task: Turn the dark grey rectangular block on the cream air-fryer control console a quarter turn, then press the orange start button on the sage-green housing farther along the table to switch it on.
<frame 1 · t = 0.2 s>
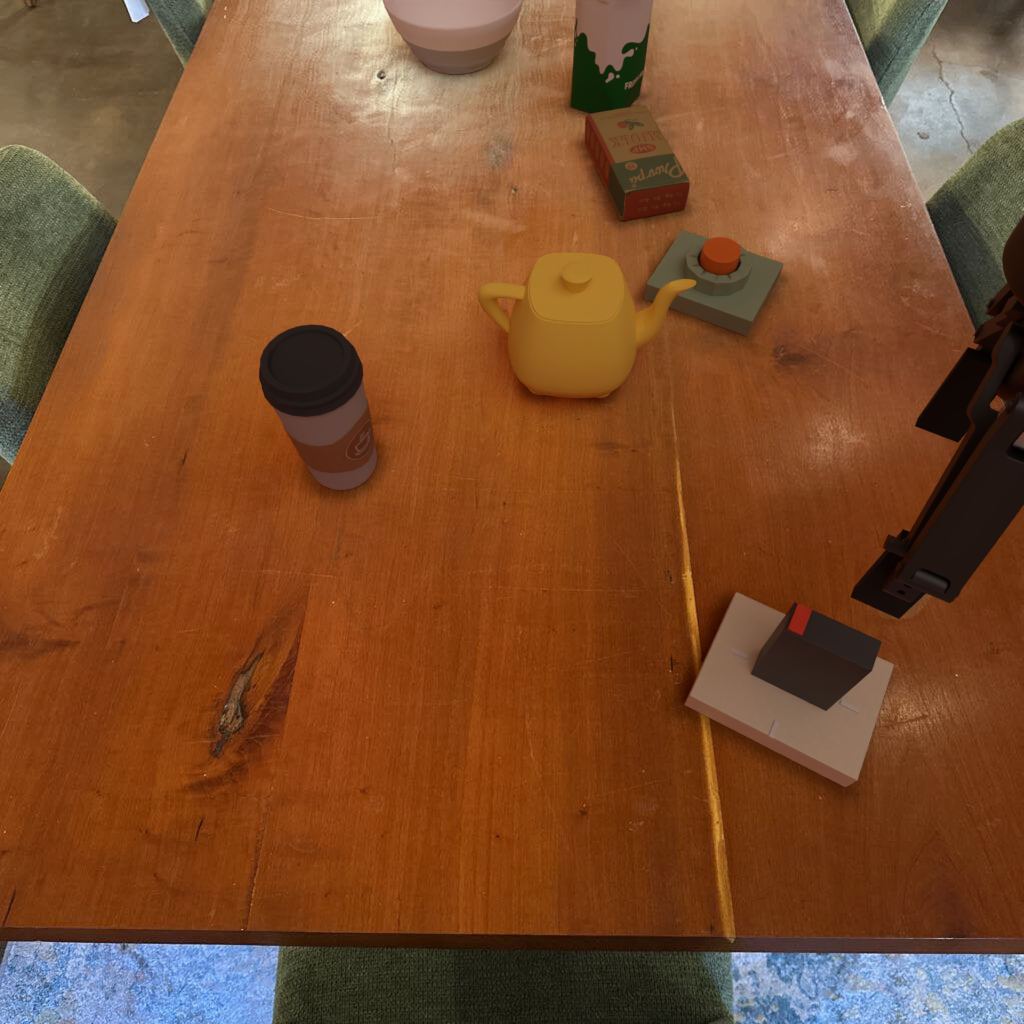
hand: (908, 511, 45), 21 cm above the table, tool pointing down, fingers open, 13 cm apart
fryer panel: (783, 689, 61), on the table
dark grey rectangular block: (811, 658, 55), point 7 cm above the table, hinge at 0.0°
carton: (632, 178, 95), on the table
bowl: (458, 55, 111), on the table
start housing: (711, 288, 85), on the table
coffee cup: (345, 466, 74), on the table
start button: (720, 256, 81), point 5 cm above the table, slide at 0.2 cm
teapot: (578, 366, 79), on the table
milk carton: (605, 103, 104), on the table
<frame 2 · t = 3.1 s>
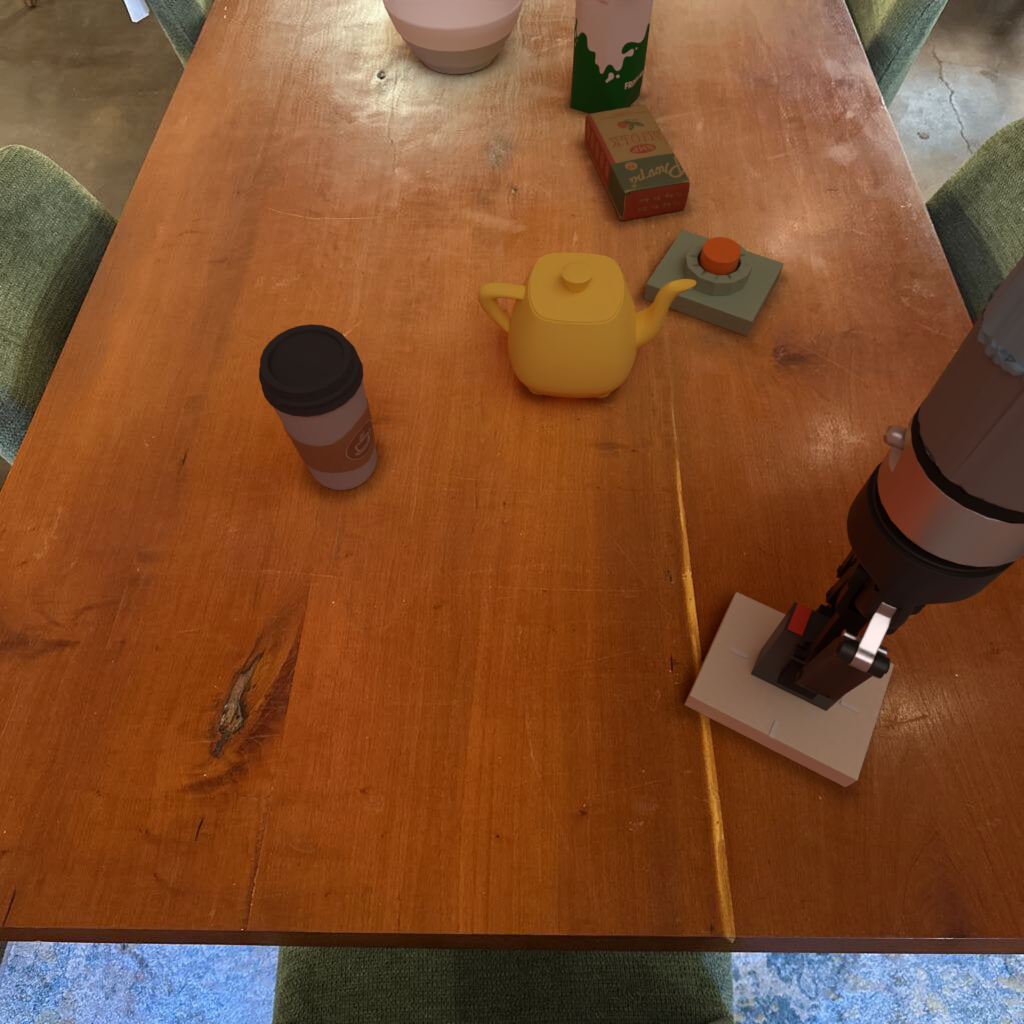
hand: (802, 668, 57), 5 cm above the table, tool pointing down, fingers closed on dark grey rectangular block, 2 cm apart
dark grey rectangular block: (811, 658, 55), point 7 cm above the table, hinge at 0.0°, touching gripper
everything else where it was.
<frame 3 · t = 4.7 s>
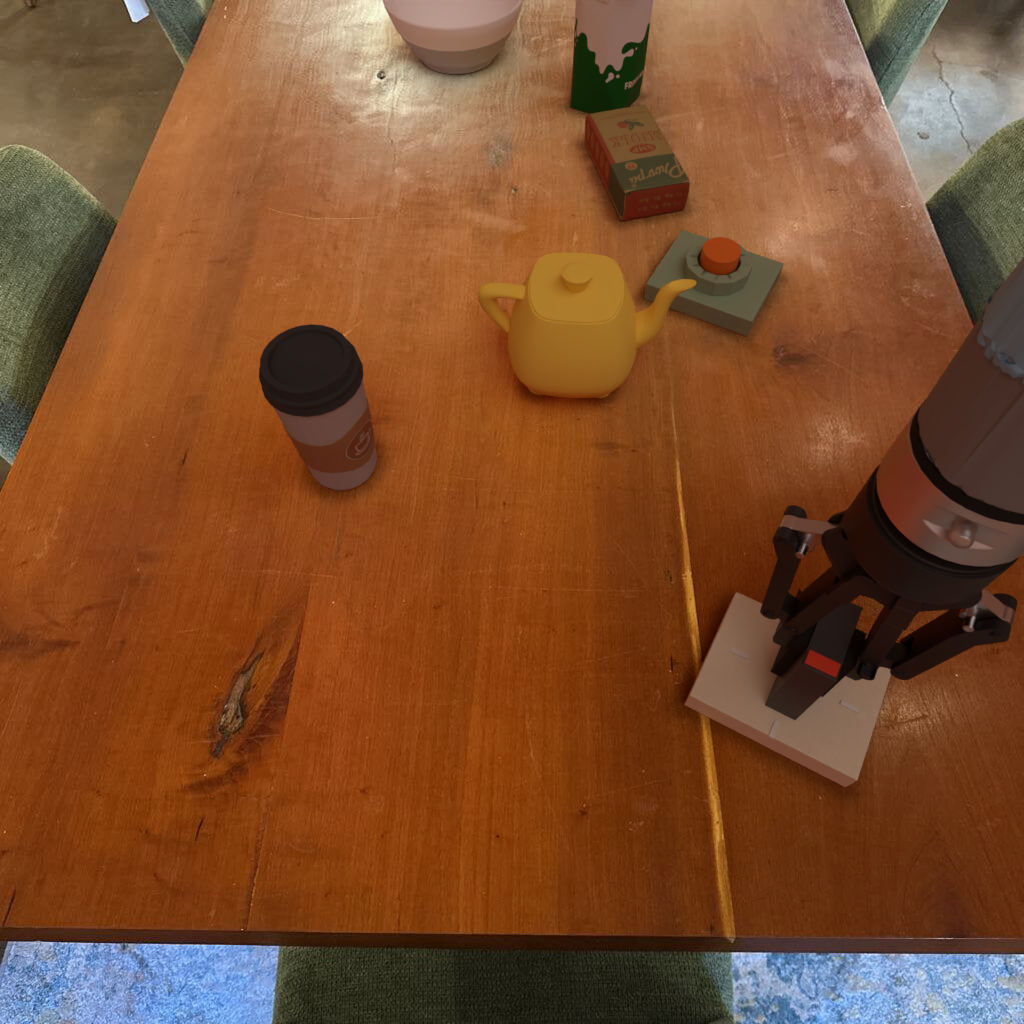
hand: (802, 668, 57), 5 cm above the table, tool pointing down, fingers open, 2 cm apart
dark grey rectangular block: (811, 658, 55), point 7 cm above the table, hinge at 89.9°
everything else where it was.
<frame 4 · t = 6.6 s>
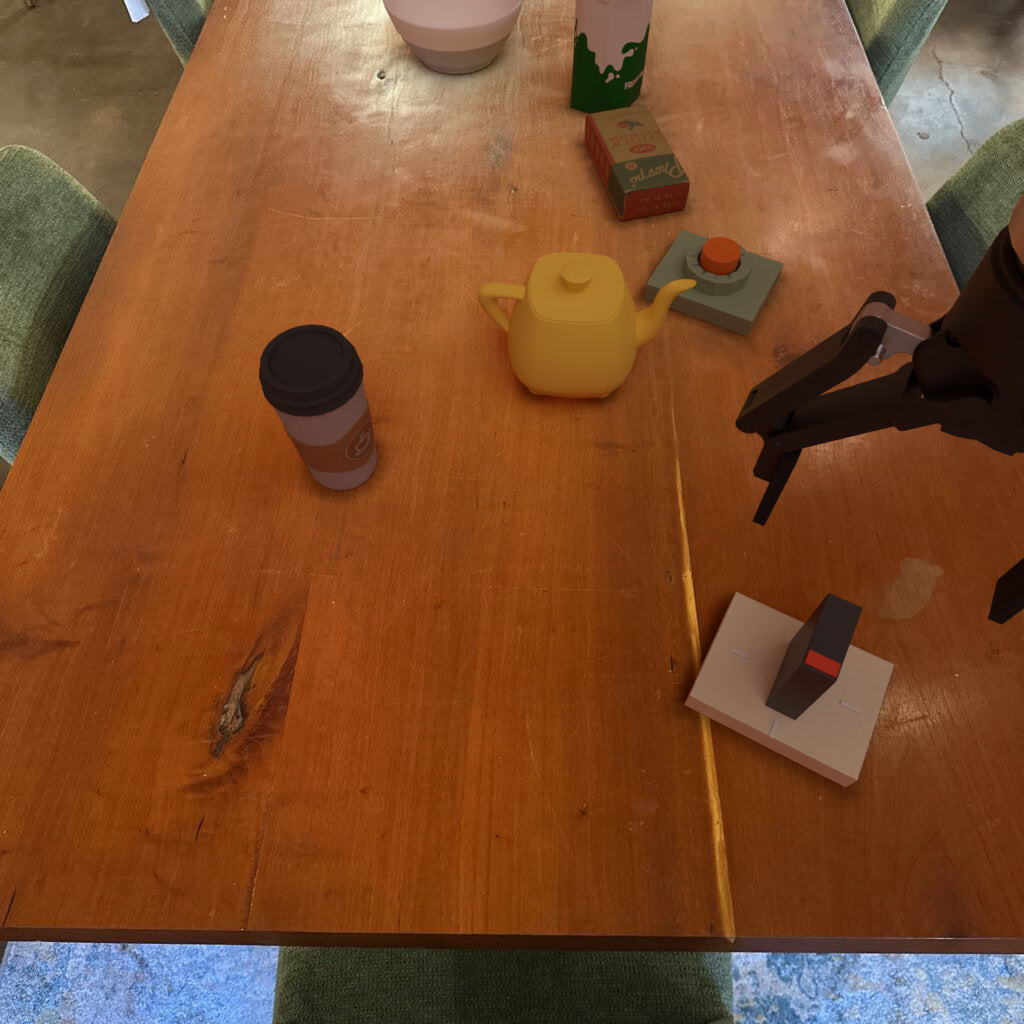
hand: (877, 553, 45), 20 cm above the table, tool pointing down, fingers open, 13 cm apart
nothing on the table moved.
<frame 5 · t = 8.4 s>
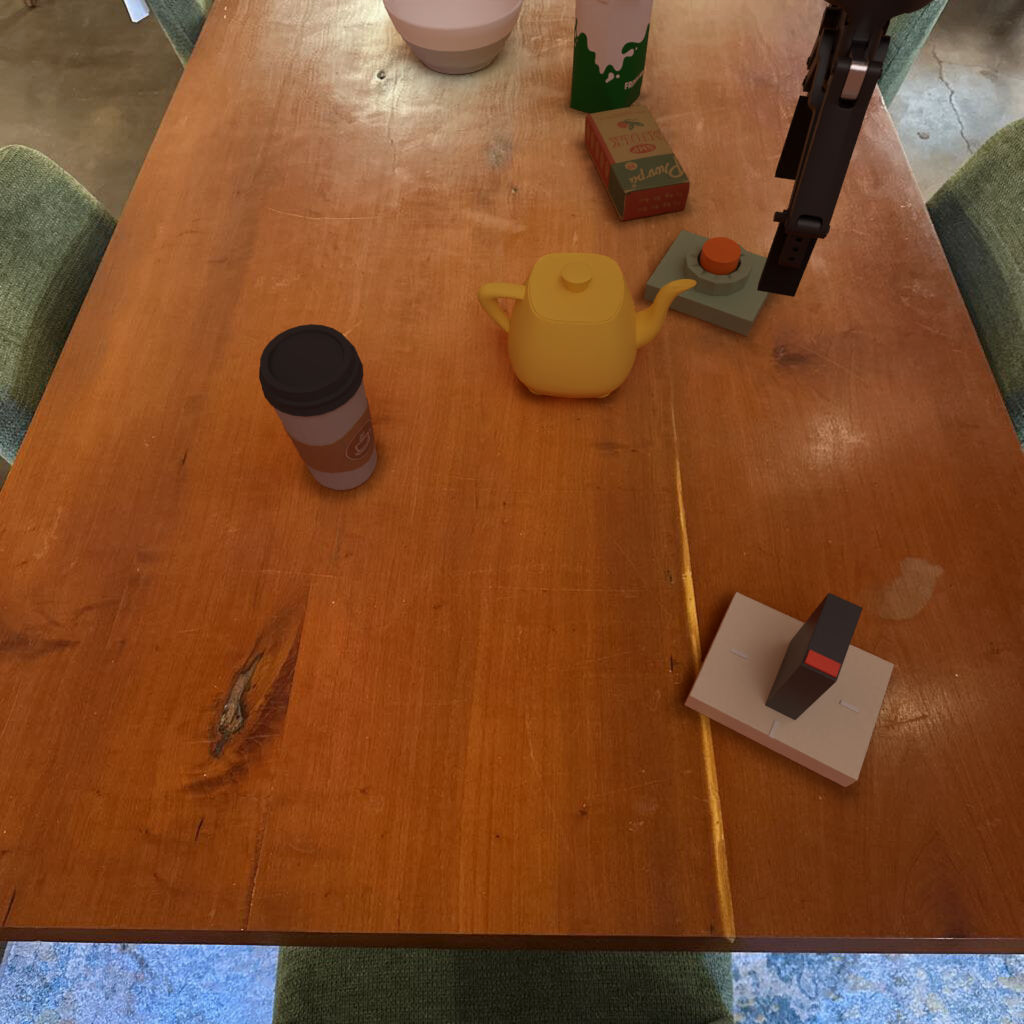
hand: (784, 230, 60), 20 cm above the table, tool pointing down, fingers open, 13 cm apart
nothing on the table moved.
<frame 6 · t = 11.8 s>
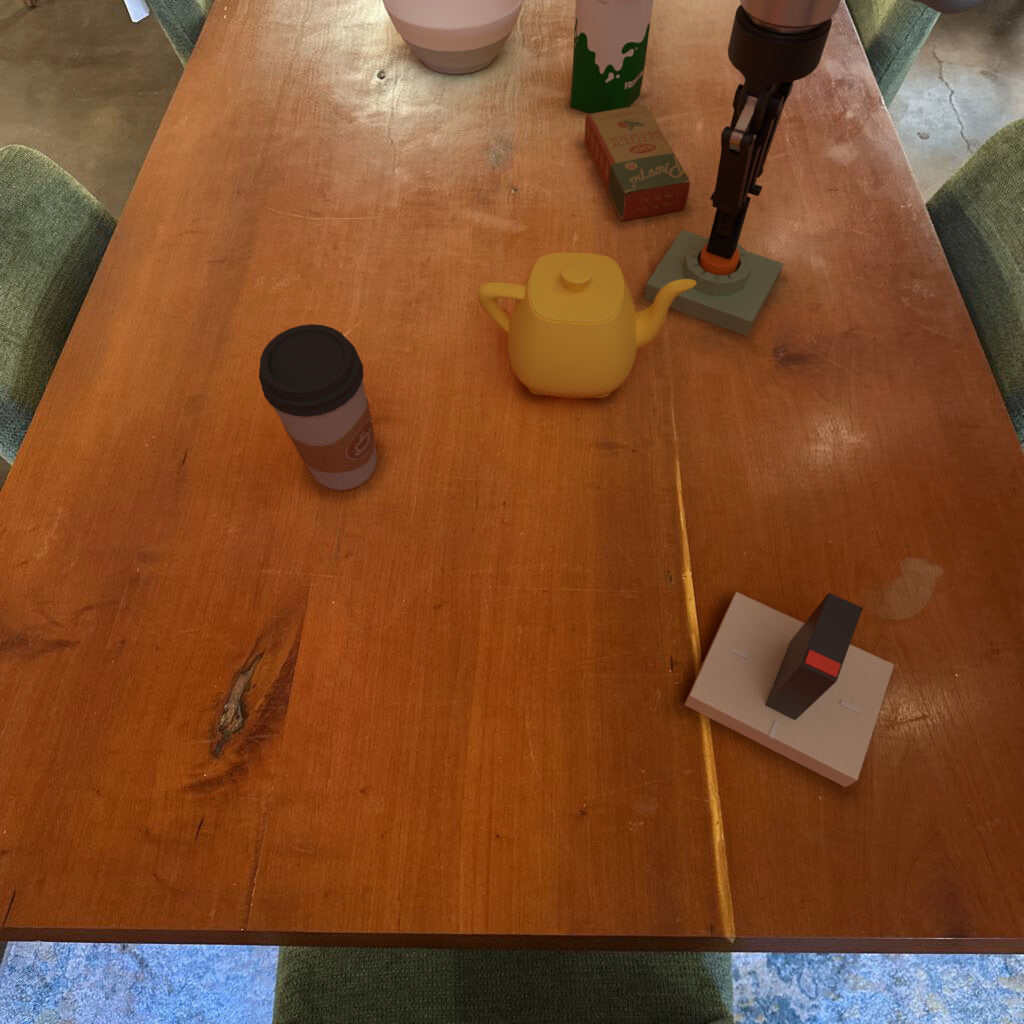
hand: (720, 250, 80), 5 cm above the table, tool pointing down, fingers closed
start button: (719, 259, 81), point 4 cm above the table, slide at -0.4 cm, touching gripper
everything else where it was.
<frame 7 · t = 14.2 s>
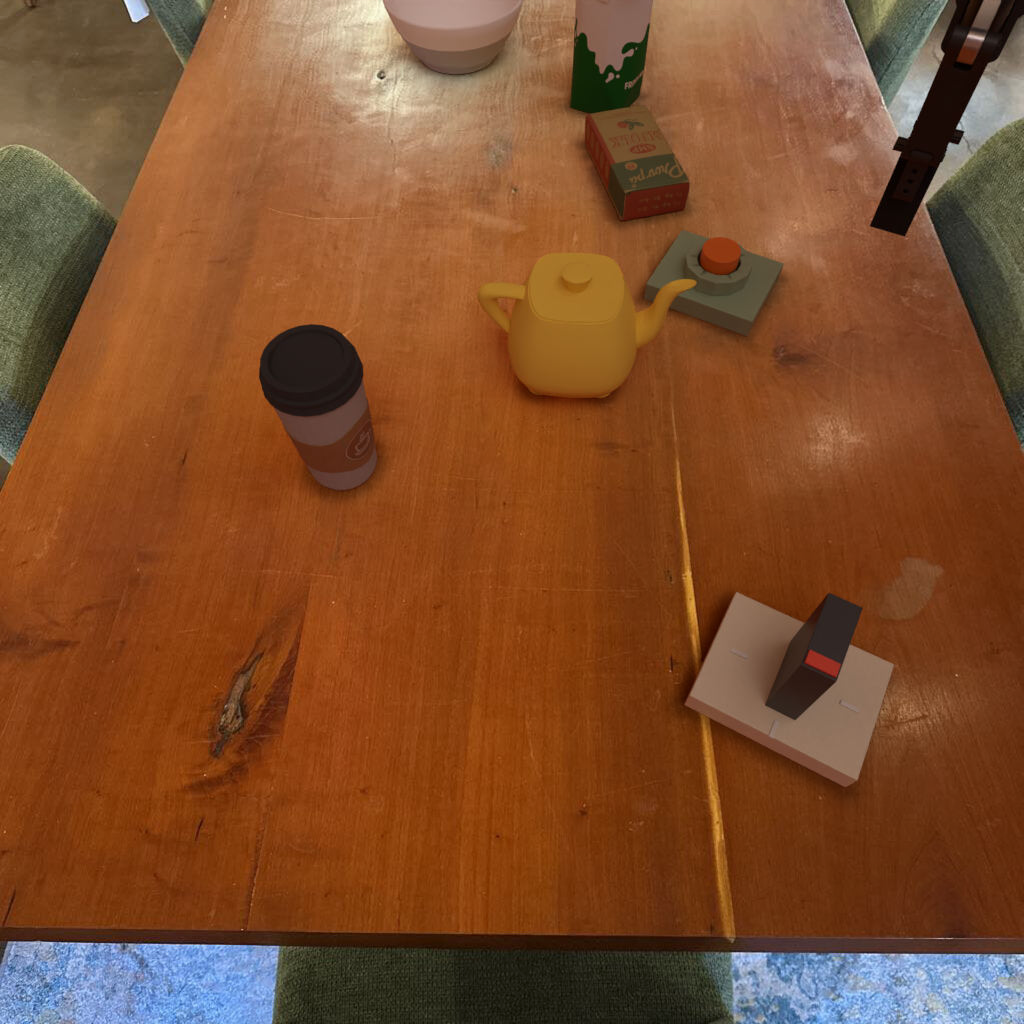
hand: (889, 225, 59), 20 cm above the table, tool pointing down, fingers closed
start button: (720, 256, 81), point 5 cm above the table, slide at 0.1 cm
everything else where it was.
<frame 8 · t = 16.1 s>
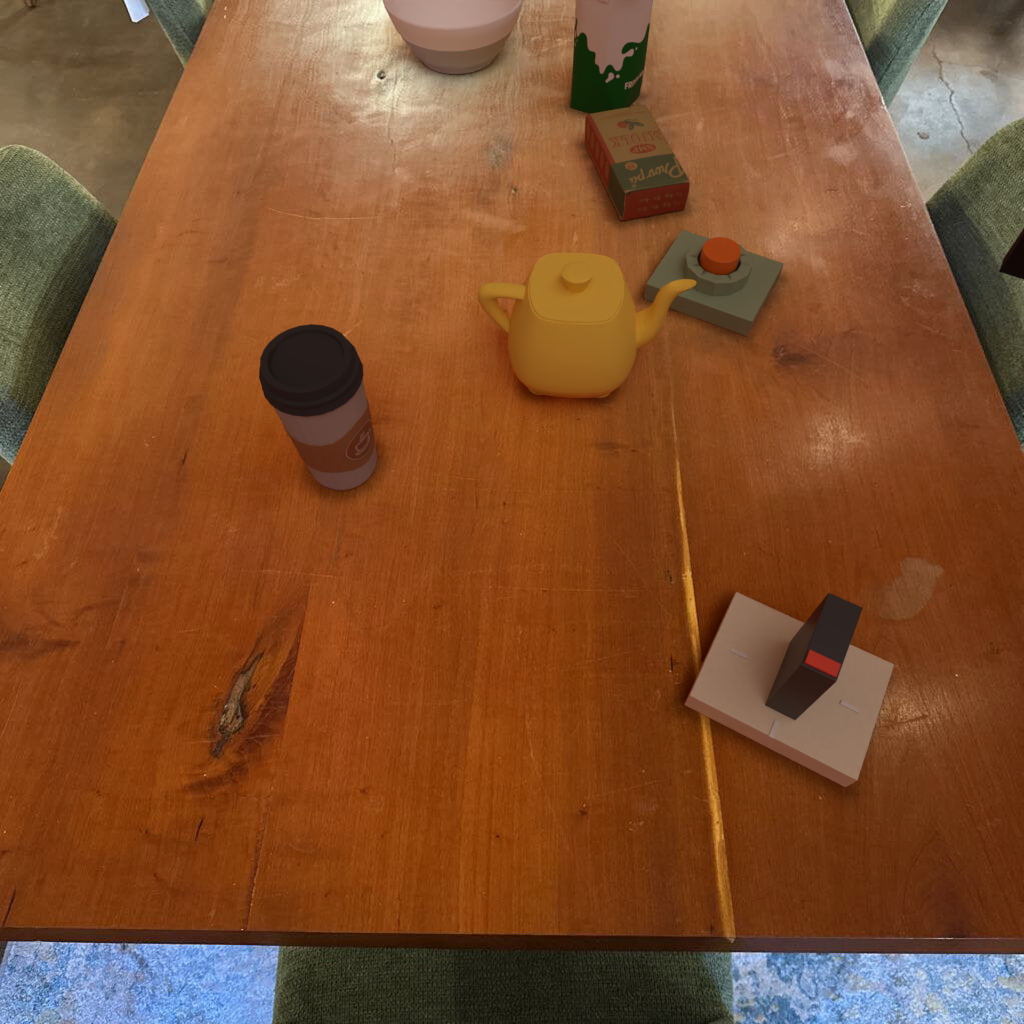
hand: (1022, 271, 51), 24 cm above the table, tool pointing down, fingers closed
nothing on the table moved.
at the end: dark grey rectangular block at +90° (first picture: +0°); start button pushed in 1.0 cm at the most during the clip, back to where it started at the end; start button slide at 0.1 cm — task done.
